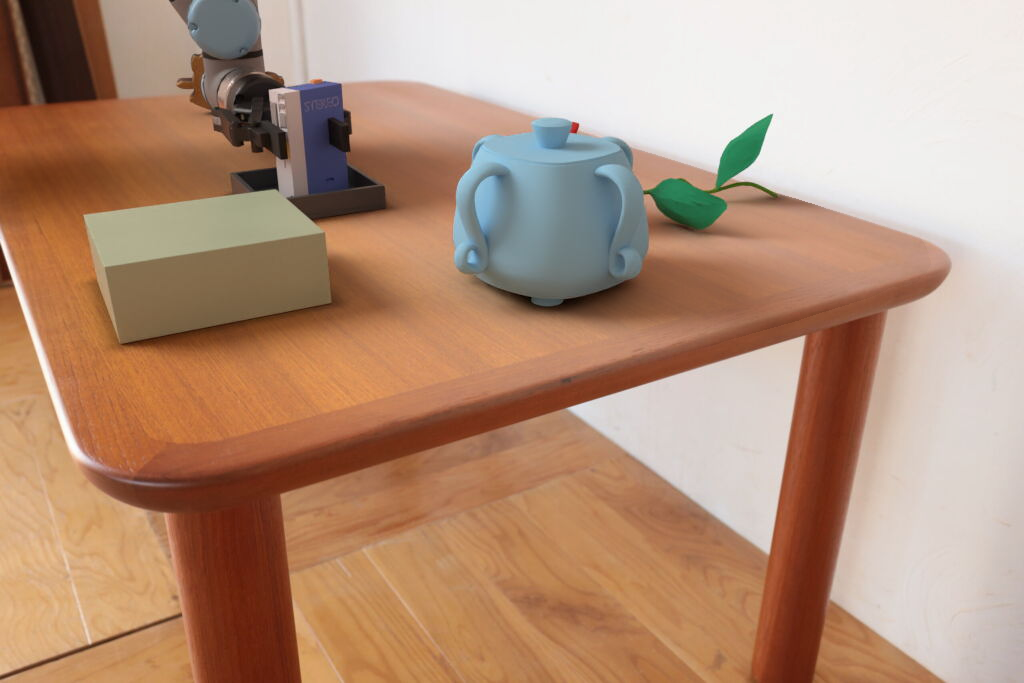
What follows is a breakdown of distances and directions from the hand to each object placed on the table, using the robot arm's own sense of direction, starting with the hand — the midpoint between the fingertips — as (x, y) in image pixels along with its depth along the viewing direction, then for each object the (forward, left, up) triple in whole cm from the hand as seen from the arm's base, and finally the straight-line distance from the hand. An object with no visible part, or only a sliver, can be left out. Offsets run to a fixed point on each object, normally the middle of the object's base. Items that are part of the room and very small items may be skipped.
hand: (314, 142), depth 91 cm
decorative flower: (+19, +31, -8) cm, 37 cm away
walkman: (-5, +1, -7) cm, 9 cm away
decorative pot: (+28, +11, -8) cm, 31 cm away
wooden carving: (-60, +5, -8) cm, 61 cm away
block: (+17, -15, -7) cm, 24 cm away
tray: (-5, 0, -7) cm, 9 cm away
